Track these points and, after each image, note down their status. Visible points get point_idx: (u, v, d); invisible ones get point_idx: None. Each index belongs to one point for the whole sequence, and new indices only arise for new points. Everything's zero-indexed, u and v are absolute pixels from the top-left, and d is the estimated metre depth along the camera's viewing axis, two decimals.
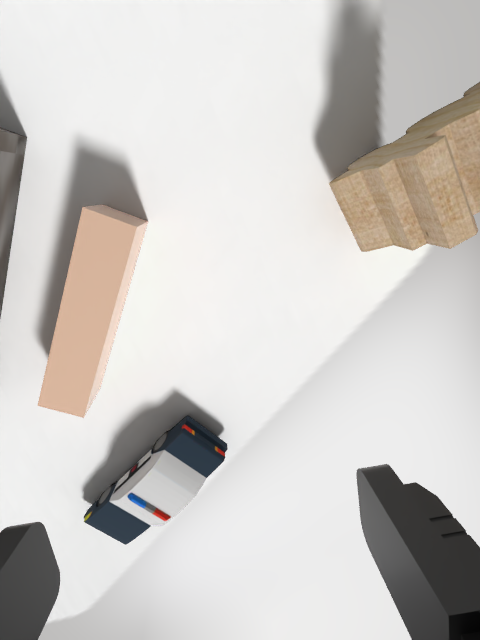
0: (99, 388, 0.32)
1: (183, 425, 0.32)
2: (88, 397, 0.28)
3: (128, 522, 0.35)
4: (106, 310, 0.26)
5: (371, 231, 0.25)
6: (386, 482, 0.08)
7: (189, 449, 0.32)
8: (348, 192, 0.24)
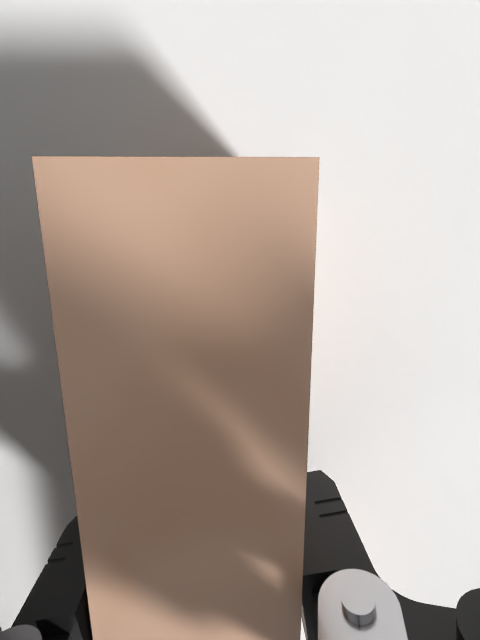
0: None
1: None
2: None
3: None
4: (276, 571, 0.06)
5: None
6: None
7: None
8: None
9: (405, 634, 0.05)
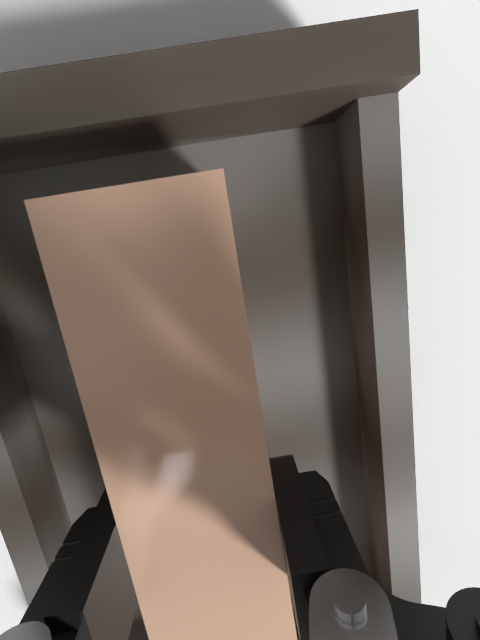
0: None
1: None
2: None
3: None
4: (251, 481, 0.08)
5: None
6: (284, 469, 0.09)
7: None
8: None
9: (394, 633, 0.05)
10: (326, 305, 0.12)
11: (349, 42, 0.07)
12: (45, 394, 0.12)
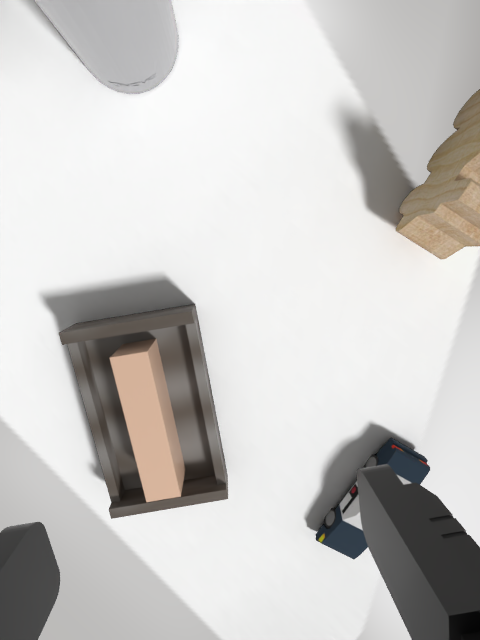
0: (184, 469, 0.40)
1: (393, 445, 0.41)
2: (176, 480, 0.36)
3: (358, 537, 0.42)
4: (157, 414, 0.35)
5: (443, 245, 0.34)
6: (386, 482, 0.08)
7: (403, 464, 0.40)
8: (414, 230, 0.34)
9: None
10: (189, 368, 0.38)
11: (177, 318, 0.34)
12: (103, 395, 0.39)
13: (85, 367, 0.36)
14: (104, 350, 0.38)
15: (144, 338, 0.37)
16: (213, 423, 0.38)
